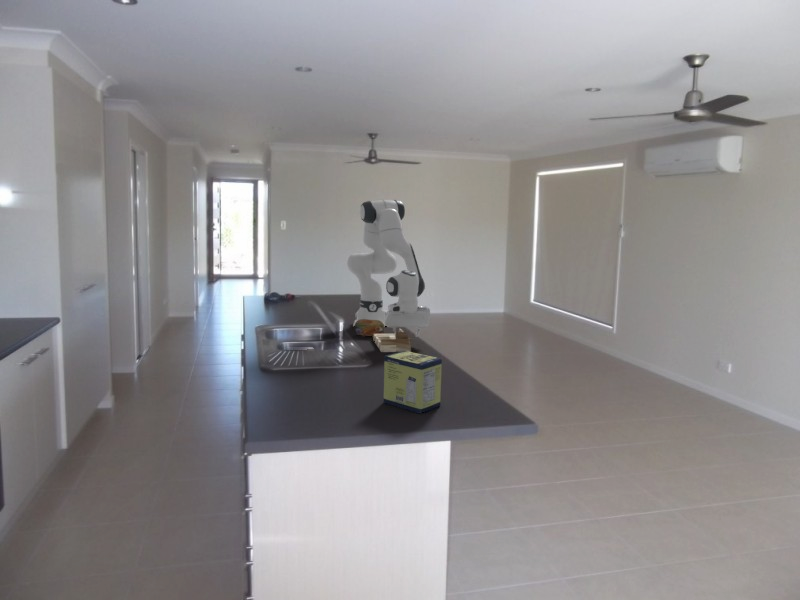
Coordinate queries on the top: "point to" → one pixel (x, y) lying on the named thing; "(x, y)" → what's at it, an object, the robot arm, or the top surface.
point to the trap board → (392, 343)
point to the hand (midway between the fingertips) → (406, 336)
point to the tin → (369, 327)
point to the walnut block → (401, 335)
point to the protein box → (412, 381)
